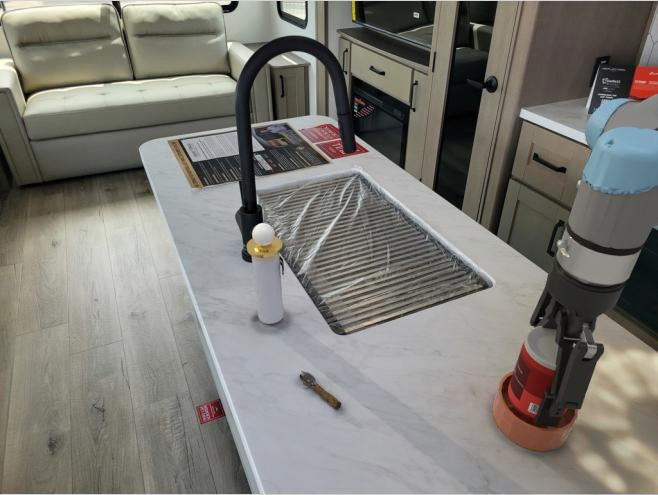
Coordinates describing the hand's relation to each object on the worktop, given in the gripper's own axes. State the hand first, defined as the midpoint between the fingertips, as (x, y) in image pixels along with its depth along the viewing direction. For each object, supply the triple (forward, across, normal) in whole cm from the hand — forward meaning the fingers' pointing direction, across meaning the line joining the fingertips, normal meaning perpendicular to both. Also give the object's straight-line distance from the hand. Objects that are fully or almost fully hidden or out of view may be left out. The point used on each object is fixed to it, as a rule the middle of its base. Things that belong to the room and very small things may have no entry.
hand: (537, 397), depth 66 cm
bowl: (+5, 0, 0) cm, 5 cm away
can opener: (+5, -1, -31) cm, 31 cm away
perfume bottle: (+5, -16, -42) cm, 45 cm away
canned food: (+1, 0, 0) cm, 1 cm away
